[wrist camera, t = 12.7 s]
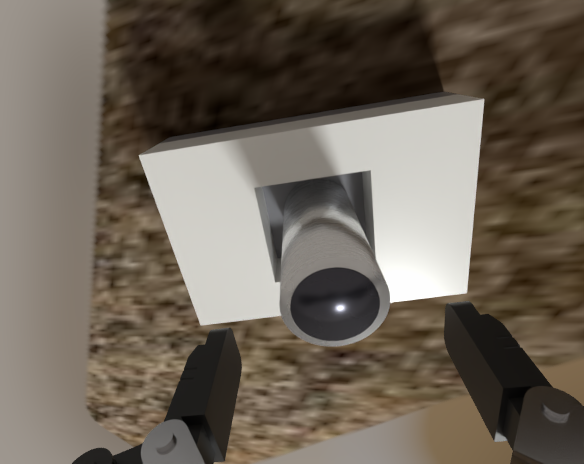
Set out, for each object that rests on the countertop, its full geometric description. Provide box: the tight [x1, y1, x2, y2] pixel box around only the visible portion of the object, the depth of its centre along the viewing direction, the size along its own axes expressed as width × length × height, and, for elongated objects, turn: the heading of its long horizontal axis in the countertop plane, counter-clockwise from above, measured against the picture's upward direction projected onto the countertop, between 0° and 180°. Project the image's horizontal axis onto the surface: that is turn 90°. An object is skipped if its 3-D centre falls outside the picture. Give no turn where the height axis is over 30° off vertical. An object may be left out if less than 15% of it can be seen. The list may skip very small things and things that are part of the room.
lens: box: [279, 178, 390, 346], centre depth 18 cm, size 4×4×10 cm
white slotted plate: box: [139, 92, 484, 325], centre depth 22 cm, size 18×12×5 cm, turn 99°
